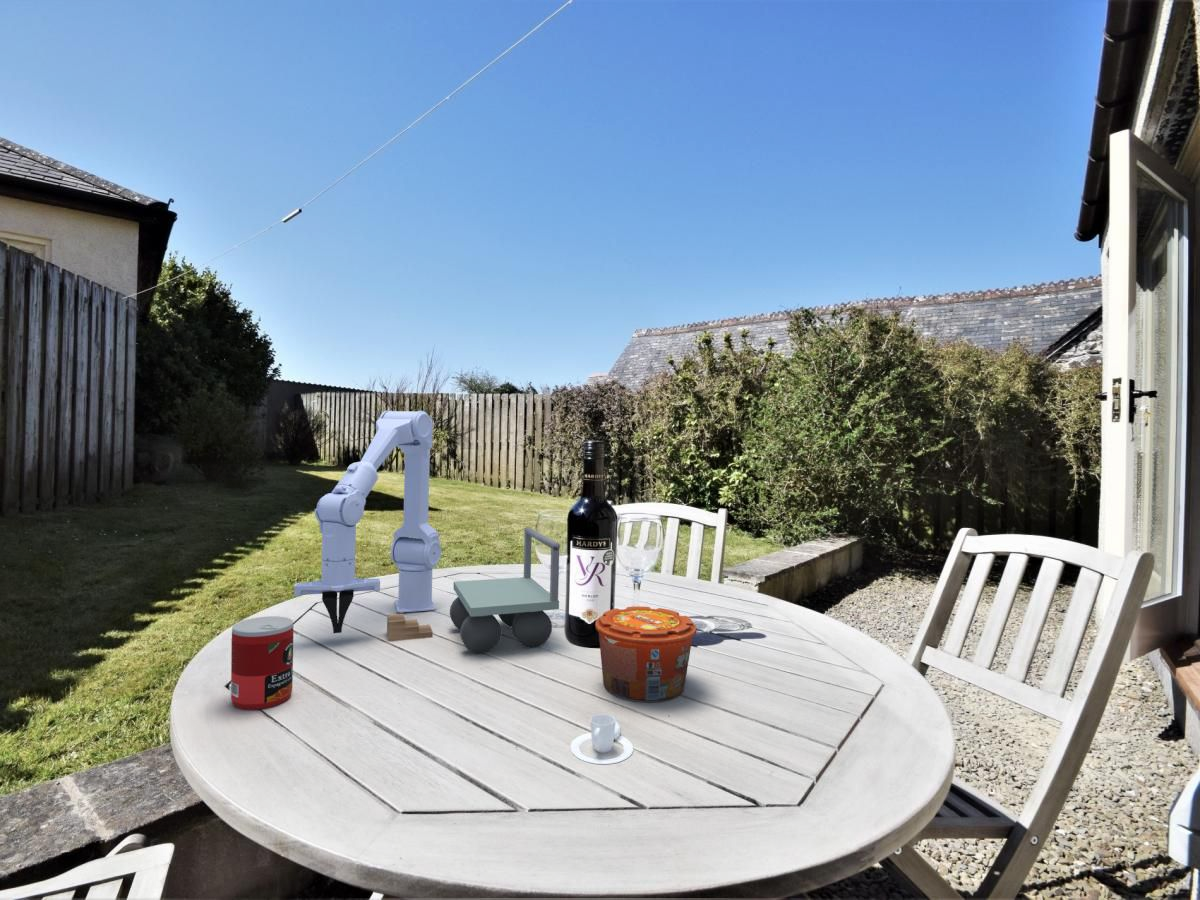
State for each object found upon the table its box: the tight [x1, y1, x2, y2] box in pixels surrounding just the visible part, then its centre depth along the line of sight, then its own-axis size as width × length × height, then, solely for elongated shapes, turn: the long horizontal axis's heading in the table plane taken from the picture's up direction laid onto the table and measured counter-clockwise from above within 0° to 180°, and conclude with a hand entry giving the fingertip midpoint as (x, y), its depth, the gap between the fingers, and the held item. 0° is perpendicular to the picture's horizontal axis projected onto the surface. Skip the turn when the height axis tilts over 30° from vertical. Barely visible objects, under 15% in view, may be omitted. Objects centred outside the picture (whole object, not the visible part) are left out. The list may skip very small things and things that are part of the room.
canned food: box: [230, 615, 294, 711], centre depth 89 cm, size 8×8×11 cm
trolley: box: [449, 526, 561, 655], centre depth 118 cm, size 20×17×20 cm
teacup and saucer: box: [569, 713, 634, 765], centre depth 78 cm, size 9×8×4 cm
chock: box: [386, 613, 433, 642], centre depth 119 cm, size 5×8×4 cm, turn 112°
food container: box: [594, 605, 697, 703], centre depth 97 cm, size 16×16×11 cm
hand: (337, 631), depth 114 cm, fingers closed
